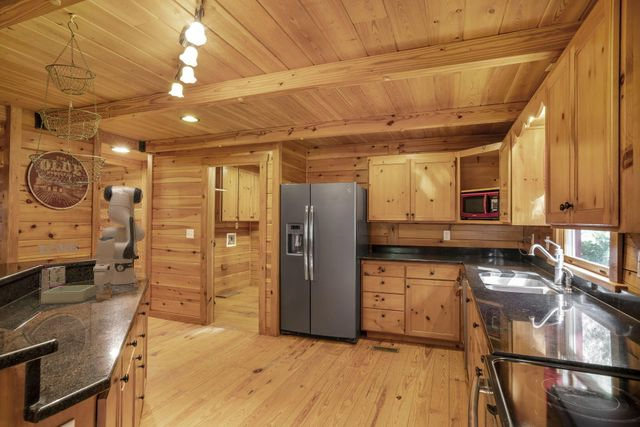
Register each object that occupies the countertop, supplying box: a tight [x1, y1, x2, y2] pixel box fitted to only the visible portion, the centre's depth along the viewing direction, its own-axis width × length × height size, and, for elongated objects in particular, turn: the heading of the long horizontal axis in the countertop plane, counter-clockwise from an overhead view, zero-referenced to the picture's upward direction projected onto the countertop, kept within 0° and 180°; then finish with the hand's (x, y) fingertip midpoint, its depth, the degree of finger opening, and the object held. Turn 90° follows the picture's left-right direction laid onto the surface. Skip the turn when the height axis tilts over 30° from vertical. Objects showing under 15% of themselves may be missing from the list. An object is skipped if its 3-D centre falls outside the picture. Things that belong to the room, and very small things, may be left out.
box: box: [40, 284, 97, 306], centre depth 178 cm, size 18×18×6 cm
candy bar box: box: [40, 265, 67, 294], centre depth 185 cm, size 11×5×16 cm, turn 179°
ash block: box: [95, 287, 113, 300], centre depth 183 cm, size 4×6×5 cm
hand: (104, 291), depth 183 cm, fingers open, 8 cm apart
